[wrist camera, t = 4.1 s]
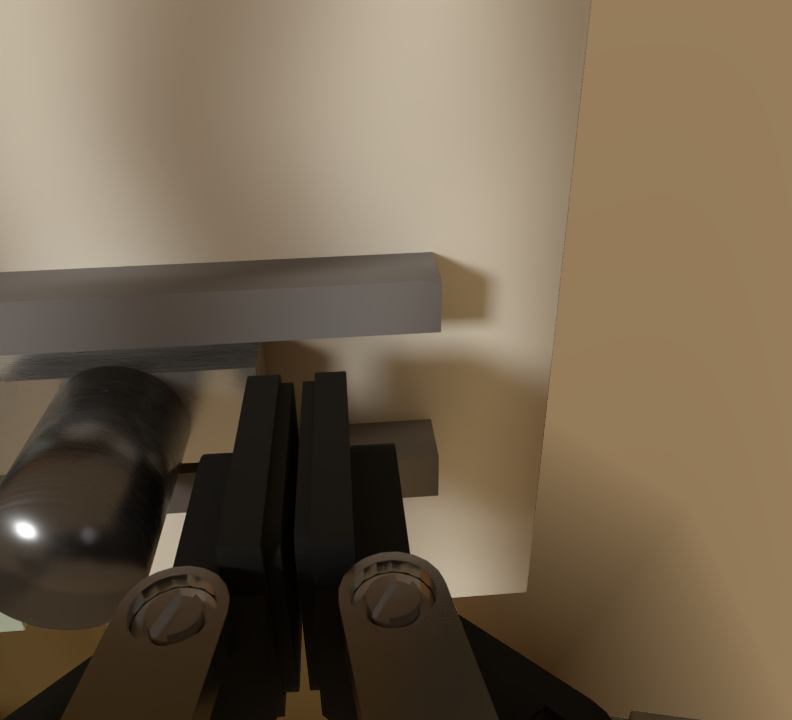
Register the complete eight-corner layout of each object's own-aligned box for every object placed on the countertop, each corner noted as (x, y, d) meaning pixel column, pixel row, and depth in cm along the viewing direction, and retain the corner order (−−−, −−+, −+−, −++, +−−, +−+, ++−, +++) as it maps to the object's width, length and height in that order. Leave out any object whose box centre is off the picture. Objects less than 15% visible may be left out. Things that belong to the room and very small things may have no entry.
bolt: (259, 326, 13) (228, 492, 9) (273, 428, 14) (250, 615, 10) (-185, 348, 13) (-424, 535, 9) (-132, 453, 14) (-319, 659, 10)
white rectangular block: (518, -94, 15) (701, -133, 8) (484, 481, 23) (556, 735, 16) (-477, -76, 14) (-1415, -103, 6) (-147, 523, 22) (-390, 818, 15)
